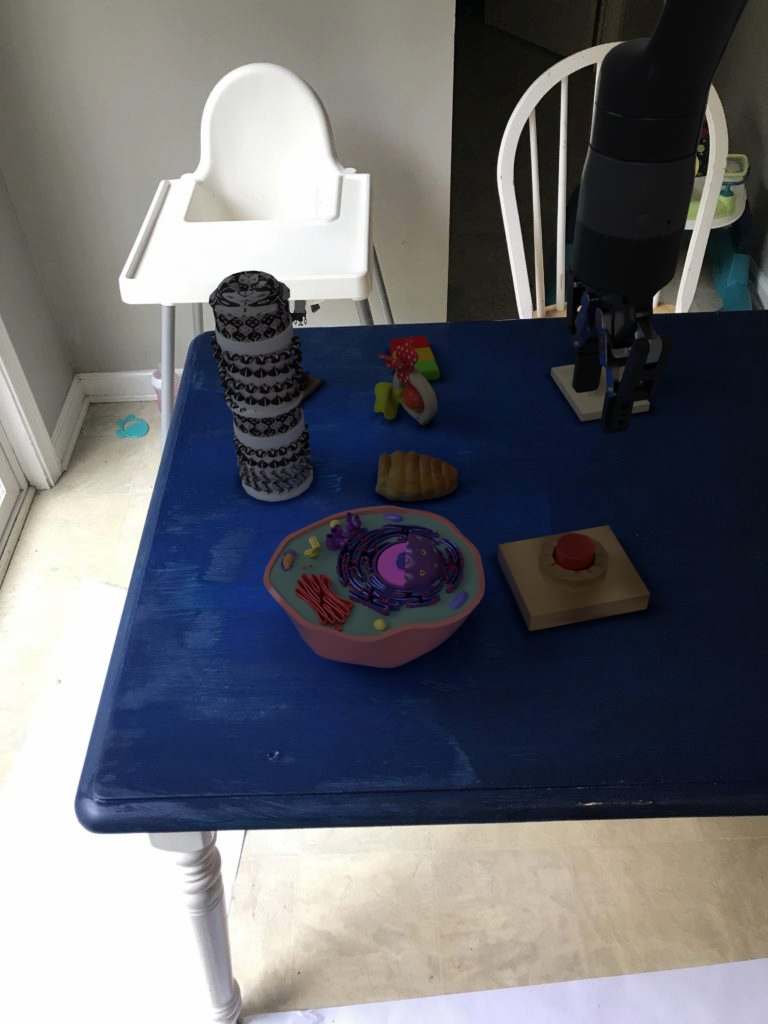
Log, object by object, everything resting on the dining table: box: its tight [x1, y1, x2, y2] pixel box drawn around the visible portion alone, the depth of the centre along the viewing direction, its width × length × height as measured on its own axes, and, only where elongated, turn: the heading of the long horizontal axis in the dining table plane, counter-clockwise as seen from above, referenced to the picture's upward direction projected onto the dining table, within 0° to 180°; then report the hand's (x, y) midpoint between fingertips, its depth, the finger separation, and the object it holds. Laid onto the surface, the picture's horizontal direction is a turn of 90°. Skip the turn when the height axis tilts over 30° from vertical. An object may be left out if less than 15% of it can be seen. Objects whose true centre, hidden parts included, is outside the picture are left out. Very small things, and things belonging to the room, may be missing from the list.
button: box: [555, 533, 595, 571], centre depth 81 cm, size 4×4×2 cm
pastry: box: [374, 449, 459, 503], centre depth 95 cm, size 9×7×4 cm
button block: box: [497, 524, 651, 632], centre depth 83 cm, size 12×10×4 cm
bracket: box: [550, 348, 651, 422], centre depth 104 cm, size 11×9×12 cm
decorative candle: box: [208, 270, 314, 503], centre depth 90 cm, size 9×9×25 cm
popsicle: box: [389, 335, 441, 382], centre depth 112 cm, size 6×15×2 cm, turn 9°
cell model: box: [262, 505, 486, 669], centre depth 77 cm, size 17×20×11 cm
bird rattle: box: [373, 338, 439, 427], centre depth 103 cm, size 6×11×9 cm
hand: (598, 408), depth 70 cm, fingers open, 5 cm apart
